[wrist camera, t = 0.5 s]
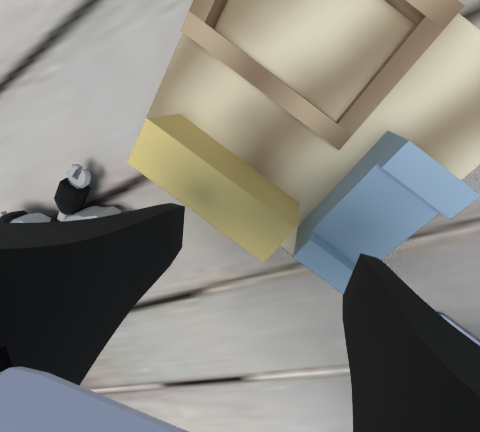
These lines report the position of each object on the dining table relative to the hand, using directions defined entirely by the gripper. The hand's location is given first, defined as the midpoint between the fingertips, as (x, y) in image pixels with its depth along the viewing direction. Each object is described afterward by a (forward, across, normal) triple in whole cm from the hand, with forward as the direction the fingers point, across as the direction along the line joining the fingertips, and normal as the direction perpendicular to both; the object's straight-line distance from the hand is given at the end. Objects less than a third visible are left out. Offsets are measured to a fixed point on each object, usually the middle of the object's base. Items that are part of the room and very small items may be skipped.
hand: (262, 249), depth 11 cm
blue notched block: (+8, -5, 0) cm, 10 cm away
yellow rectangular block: (+8, +4, 0) cm, 9 cm away
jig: (+9, 0, -4) cm, 10 cm away
